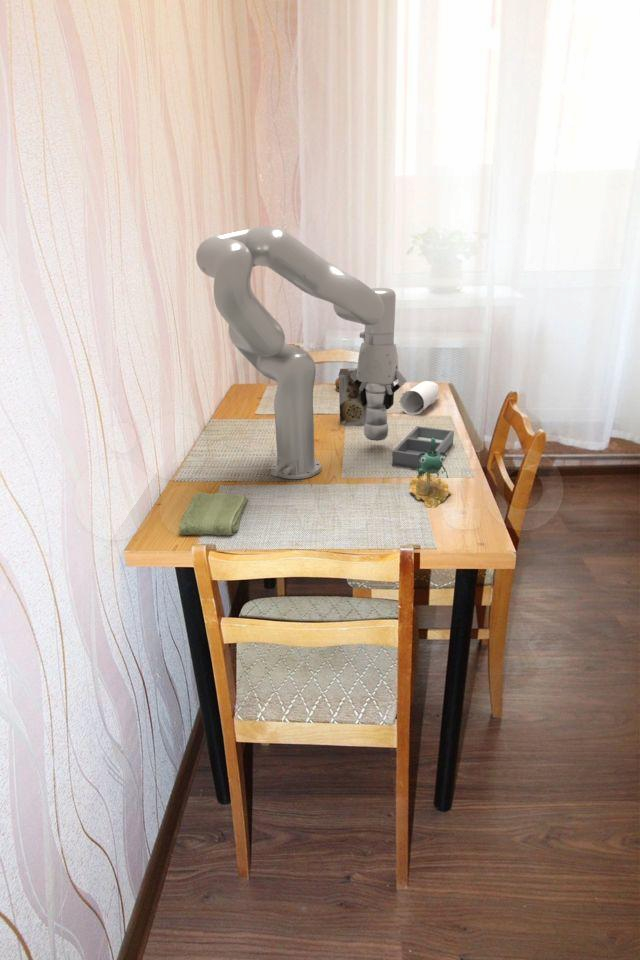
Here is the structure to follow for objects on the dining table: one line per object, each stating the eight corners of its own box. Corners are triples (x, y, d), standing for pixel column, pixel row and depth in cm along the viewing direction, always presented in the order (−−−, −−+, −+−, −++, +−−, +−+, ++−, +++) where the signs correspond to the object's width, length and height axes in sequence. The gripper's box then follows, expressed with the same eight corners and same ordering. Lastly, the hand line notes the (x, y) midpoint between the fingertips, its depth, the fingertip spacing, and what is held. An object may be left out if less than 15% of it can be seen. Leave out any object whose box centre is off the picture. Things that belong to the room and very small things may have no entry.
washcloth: (249, 501, 151) (249, 488, 150) (236, 539, 135) (235, 525, 134) (194, 501, 152) (193, 488, 150) (174, 538, 136) (172, 525, 134)
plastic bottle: (392, 441, 175) (395, 368, 167) (369, 444, 173) (372, 371, 165) (381, 434, 181) (384, 363, 172) (359, 437, 178) (361, 365, 170)
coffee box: (370, 419, 200) (370, 368, 193) (369, 426, 194) (369, 373, 188) (340, 418, 201) (340, 367, 194) (339, 425, 195) (338, 373, 189)
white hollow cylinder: (444, 401, 215) (446, 377, 212) (422, 417, 201) (423, 392, 197) (422, 397, 219) (423, 374, 216) (399, 413, 205) (400, 389, 201)
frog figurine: (448, 476, 160) (453, 422, 153) (452, 517, 145) (457, 459, 138) (409, 474, 162) (412, 421, 154) (409, 515, 146) (412, 458, 139)
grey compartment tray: (432, 472, 163) (432, 457, 161) (392, 465, 167) (392, 451, 165) (453, 444, 179) (453, 430, 178) (416, 439, 184) (416, 426, 182)
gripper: (342, 338, 166) (341, 405, 173) (406, 344, 159) (403, 414, 166) (353, 333, 172) (352, 398, 179) (416, 338, 165) (412, 406, 173)
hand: (376, 405), depth 173 cm, fingers closed on plastic bottle, 6 cm apart
